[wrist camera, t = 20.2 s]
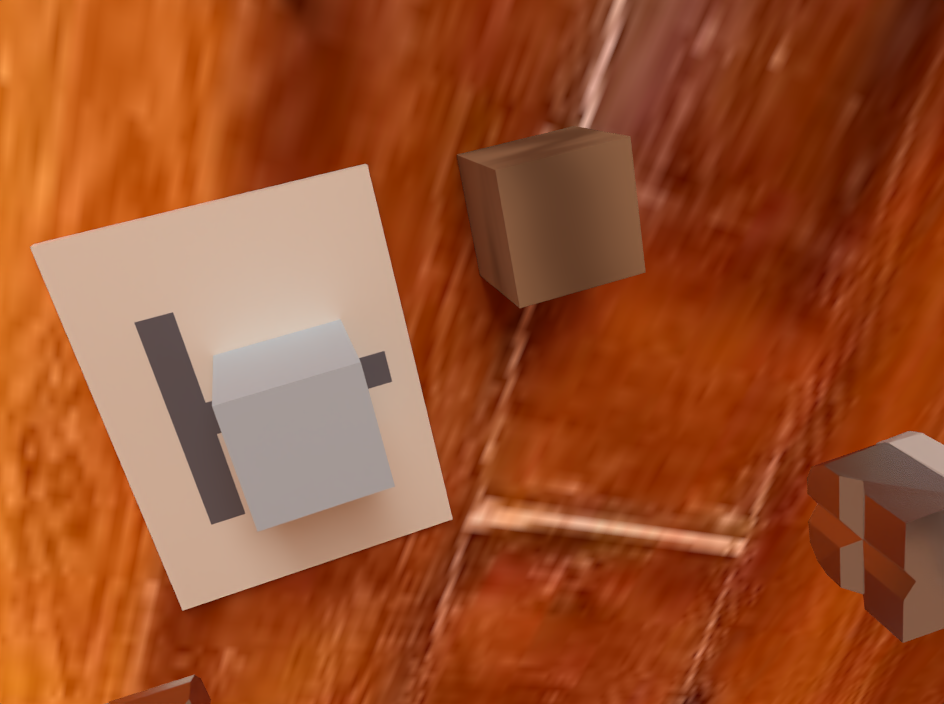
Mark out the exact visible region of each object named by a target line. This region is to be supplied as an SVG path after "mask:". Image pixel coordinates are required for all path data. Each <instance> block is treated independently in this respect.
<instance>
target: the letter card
mask: <svg viewBox="0 0 944 704" xmlns="http://www.w3.org/2000/svg"><path fill="white" fill-rule="evenodd" d="M30 248H31V251H32V253H33V255H34V258H35V260H36V262H37V265H38V267H39V270H40V272H41V274H42V277H43V279H44V282H45V284H46V286H47V289H48V291H49V293H50V296H51V298H52V301H53V303H54V305H55V308H56V310H57V313H58V315H59V317H60V320H61V322H62V324H63V327H64V329H65V332H66V334H67V336H68V339H69V341H70V343H71V346H72V348H73V351H74V353H75V355H76V358H77V360H78V363H79V365H80V367H81V370H82V372H83V374H84V377H85V379H86V382H87V384H88V386H89V389H90V391H91V394H92V396H93V398H94V401H95V403H96V405H97V408H98V410H99V413H100V415H101V417H102V420H103V422H104V424H105V427H106V429H107V432H108V434H109V436H110V439H111V441H112V444H113V446H114V448H115V451H116V453H117V455H118V458H119V460H120V463H121V465H122V467H123V470H124V472H125V474H126V477H127V479H128V482H129V484H130V486H131V489H132V491H133V494H134V496H135V498H136V501H137V503H138V505H139V508H140V510H141V513H142V515H143V517H144V520H145V522H146V525H147V527H148V529H149V532H150V534H151V536H152V539H153V541H154V544H155V546H156V548H157V551H158V553H159V555H160V558H161V560H162V563H163V565H164V567H165V570H166V572H167V575H168V577H169V579H170V582H171V584H172V586H173V589H174V591H175V594H176V596H177V598H178V601H179V603H180V605H181V608H182V610H186V609H189V608H192V607H195V606H198V605H201V604H204V603H207V602H210V601H213V600H216V599H219V598H222V597H224V596H227V595H230V594H233V593H236V592H239V591H242V590H245V589H248V588H251V587H254V586H257V585H260V584H263V583H266V582H269V581H272V580H275V579H278V578H281V577H284V576H286V575H289V574H292V573H295V572H298V571H301V570H304V569H307V568H310V567H313V566H316V565H319V564H322V563H325V562H328V561H331V560H334V559H337V558H340V557H343V556H346V555H349V554H351V553H354V552H357V551H360V550H363V549H366V548H369V547H372V546H375V545H378V544H381V543H384V542H387V541H390V540H393V539H396V538H399V537H402V536H405V535H408V534H411V533H414V532H416V531H419V530H422V529H425V528H428V527H431V526H434V525H437V524H440V523H443V522H446V521H449V520H452V519H453V518H452V514H451V510H450V506H449V502H448V498H447V493H446V489H445V485H444V481H443V477H442V473H441V469H440V464H439V460H438V456H437V452H436V448H435V444H434V440H433V435H432V431H431V427H430V423H429V419H428V415H427V410H426V406H425V402H424V398H423V394H422V390H421V386H420V381H419V377H418V373H417V369H416V365H415V361H414V356H413V352H412V348H411V344H410V340H409V336H408V332H407V327H406V323H405V319H404V315H403V311H402V307H401V303H400V298H399V294H398V290H397V286H396V282H395V278H394V273H393V269H392V265H391V261H390V257H389V253H388V249H387V244H386V240H385V236H384V232H383V228H382V224H381V219H380V215H379V211H378V207H377V203H376V199H375V195H374V190H373V186H372V182H371V178H370V174H369V170H368V166H367V165H366V164H363V165H358V166H354V167H350V168H346V169H342V170H338V171H334V172H330V173H325V174H321V175H317V176H313V177H309V178H305V179H301V180H297V181H292V182H288V183H284V184H280V185H276V186H272V187H268V188H264V189H259V190H255V191H251V192H247V193H243V194H239V195H235V196H230V197H226V198H222V199H218V200H214V201H210V202H206V203H202V204H197V205H193V206H189V207H185V208H181V209H177V210H173V211H169V212H164V213H160V214H156V215H152V216H148V217H144V218H140V219H136V220H131V221H127V222H123V223H119V224H115V225H111V226H107V227H102V228H98V229H94V230H90V231H86V232H82V233H78V234H74V235H69V236H65V237H61V238H57V239H53V240H49V241H45V242H41V243H36V244H33V245H32V246H31V247H30ZM340 319H341V321H342V323H343V325H344V328H345V330H346V332H347V334H348V336H349V338H350V340H351V342H352V345H353V347H354V349H355V351H356V353H357V355H358V357H359V359H360V362H361V365H362V369H363V372H364V376H365V379H366V383H367V387H368V390H369V394H370V398H371V401H372V405H373V408H374V412H375V416H376V419H377V423H378V427H379V430H380V434H381V437H382V441H383V445H384V448H385V452H386V456H387V459H388V463H389V466H390V470H391V474H392V477H393V481H394V485H395V487H392V488H389V489H386V490H383V491H380V492H377V493H374V494H371V495H368V496H365V497H362V498H359V499H356V500H353V501H350V502H346V503H343V504H340V505H337V506H334V507H331V508H328V509H325V510H322V511H319V512H316V513H313V514H310V515H307V516H304V517H301V518H298V519H295V520H292V521H289V522H286V523H283V524H280V525H277V526H274V527H271V528H268V529H265V530H262V531H259V532H258V531H257V529H256V526H255V523H254V520H253V518H252V515H251V512H250V509H249V507H248V504H247V501H246V498H245V496H244V493H243V490H242V487H241V485H240V482H239V479H238V476H237V474H236V471H235V468H234V465H233V463H232V460H231V457H230V454H229V452H228V449H227V446H226V443H225V441H224V438H223V435H222V432H221V430H220V427H219V424H218V421H217V419H216V416H215V413H214V410H213V408H212V382H213V355H217V354H220V353H224V352H227V351H231V350H234V349H238V348H241V347H245V346H248V345H252V344H255V343H259V342H263V341H266V340H270V339H273V338H277V337H280V336H284V335H287V334H291V333H294V332H298V331H301V330H305V329H308V328H312V327H315V326H319V325H322V324H326V323H329V322H333V321H336V320H340Z"/></svg>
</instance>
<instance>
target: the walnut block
mask: <svg viewBox="0 0 944 704" xmlns="http://www.w3.org/2000/svg"><path fill="white" fill-rule="evenodd" d="M457 160H458V165H459V170H460V175H461V180H462V186H463V191H464V196H465V201H466V206H467V211H468V216H469V221H470V227H471V232H472V237H473V242H474V247H475V252H476V257H477V262H478V267H479V273H480V276H481V277H482V278H484V279H485V280H486V281H487V282H489V283H490V284H491V285H492V286H493V287H495V288H496V289H497V290H498V291H499V292H501V293H502V294H503V295H504V296H506V297H507V298H508V299H509V300H510V301H512V302H513V303H514V304H515V305H516V306H518V307H519V308H523V307H526V306H530V305H533V304H537V303H540V302H544V301H547V300H551V299H554V298H558V297H561V296H565V295H568V294H572V293H575V292H579V291H582V290H586V289H589V288H593V287H596V286H600V285H603V284H607V283H610V282H614V281H617V280H620V279H624V278H627V277H631V276H634V275H638V274H641V273H645V264H644V255H643V246H642V237H641V228H640V219H639V210H638V201H637V192H636V183H635V174H634V165H633V156H632V147H631V138H630V136H626V135H620V134H614V133H609V132H603V131H598V130H592V129H587V128H581V127H576V126H573V127H569V128H565V129H561V130H557V131H552V132H548V133H544V134H540V135H536V136H532V137H528V138H524V139H520V140H515V141H511V142H507V143H503V144H499V145H495V146H491V147H487V148H483V149H479V150H474V151H470V152H466V153H462V154H458V155H457Z"/></svg>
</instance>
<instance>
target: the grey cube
mask: <svg viewBox="0 0 944 704" xmlns="http://www.w3.org/2000/svg"><path fill="white" fill-rule="evenodd" d="M212 408H213V410H214V413H215V416H216V419H217V421H218V424H219V427H220V430H221V432H222V435H223V438H224V441H225V443H226V446H227V449H228V452H229V454H230V457H231V460H232V463H233V465H234V468H235V471H236V474H237V476H238V479H239V482H240V485H241V487H242V490H243V493H244V496H245V498H246V501H247V504H248V507H249V509H250V512H251V515H252V518H253V520H254V523H255V526H256V529H257V531H258V532H259V531H262V530H265V529H268V528H271V527H274V526H277V525H280V524H283V523H286V522H289V521H292V520H295V519H298V518H301V517H304V516H307V515H310V514H313V513H316V512H319V511H322V510H325V509H328V508H331V507H334V506H337V505H340V504H343V503H346V502H350V501H353V500H356V499H359V498H362V497H365V496H368V495H371V494H374V493H377V492H380V491H383V490H386V489H389V488H392V487H395V485H394V481H393V477H392V474H391V470H390V466H389V463H388V459H387V456H386V452H385V448H384V445H383V441H382V437H381V434H380V430H379V427H378V423H377V419H376V416H375V412H374V408H373V405H372V401H371V398H370V394H369V390H368V387H367V383H366V379H365V376H364V372H363V369H362V365H361V362H360V359H359V357H358V355H357V353H356V351H355V349H354V347H353V345H352V342H351V340H350V338H349V336H348V334H347V332H346V330H345V328H344V325H343V323H342V321H341V319H340V320H336V321H333V322H329V323H326V324H322V325H319V326H315V327H312V328H308V329H305V330H301V331H298V332H294V333H291V334H287V335H284V336H280V337H277V338H273V339H270V340H266V341H263V342H259V343H255V344H252V345H248V346H245V347H241V348H238V349H234V350H231V351H227V352H224V353H220V354H217V355H213V382H212Z"/></svg>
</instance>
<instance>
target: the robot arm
mask: <svg viewBox="0 0 944 704" xmlns="http://www.w3.org/2000/svg"><path fill="white" fill-rule="evenodd" d="M807 494H808V495H809V496H810V497H811V498H812V499H814V500H815V501H816V502H817V503H818V504H817V506H816V508H815V510H814V512H813V514H812V515H811V517H810V519H809V521H808V524H809V537H810V544H811V546H812V548H813V551H814V553H815V556H816V558H817V561H818V562H819V564H820V565H821V567H822V568H823V569H824V571H825V572H826V574H827V575H828V576H829V577H830V578H831V579H832V580H833V581H835V582H836V583H837V584H838V585H839V586H840V587H841V588H845V589H848V590H851V591H854V592H858V593H861V594H863V598H864V607H865V610H867V611H868V612H869V613H870V614H871V615H872V616H873V617H874V618H876V619H877V620H878V621H879V622H880V623H881V624H882V625H883V626H885V627H886V628H887V629H888V630H889V631H890V632H891V633H892V634H894V635H895V636H896V637H897V638H898V639H899V640H900V641H901V642H906V641H909V640H912V639H915V638H918V637H920V636H923V635H926V634H929V633H932V632H935V631H937V630H940V629H943V628H944V445H942V444H941V443H939V442H937V441H935V440H934V439H932V438H930V437H928V436H926V435H925V434H923V433H919V432H912V431H908V432H905V433H903V434H900V435H897V436H895V437H892V438H889V439H886V440H884V441H881V442H878V443H877V444H876V445H873V446H870V447H867V448H864V449H861V450H858V451H855V452H853V453H850V454H847V455H844V456H841V457H838V458H835V459H832V460H829V461H826V462H824V463H821V464H818V465H815V466H812V467H811V469H810V471H809V474H808V477H807ZM210 702H211V699H210V697H209V695H208V692H207V690H206V688H205V686H204V684H203V682H202V680H201V678H199V677H197V676H196V675H192V676H189V677H186V678H183V679H180V680H176V681H173V682H170V683H167V684H164V685H161V686H157V687H154V688H151V689H148V690H145V691H141V692H138V693H135V694H132V695H129V696H126V697H122V698H119V699H116V700H113V701H110V702H109V703H107V704H210Z"/></svg>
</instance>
